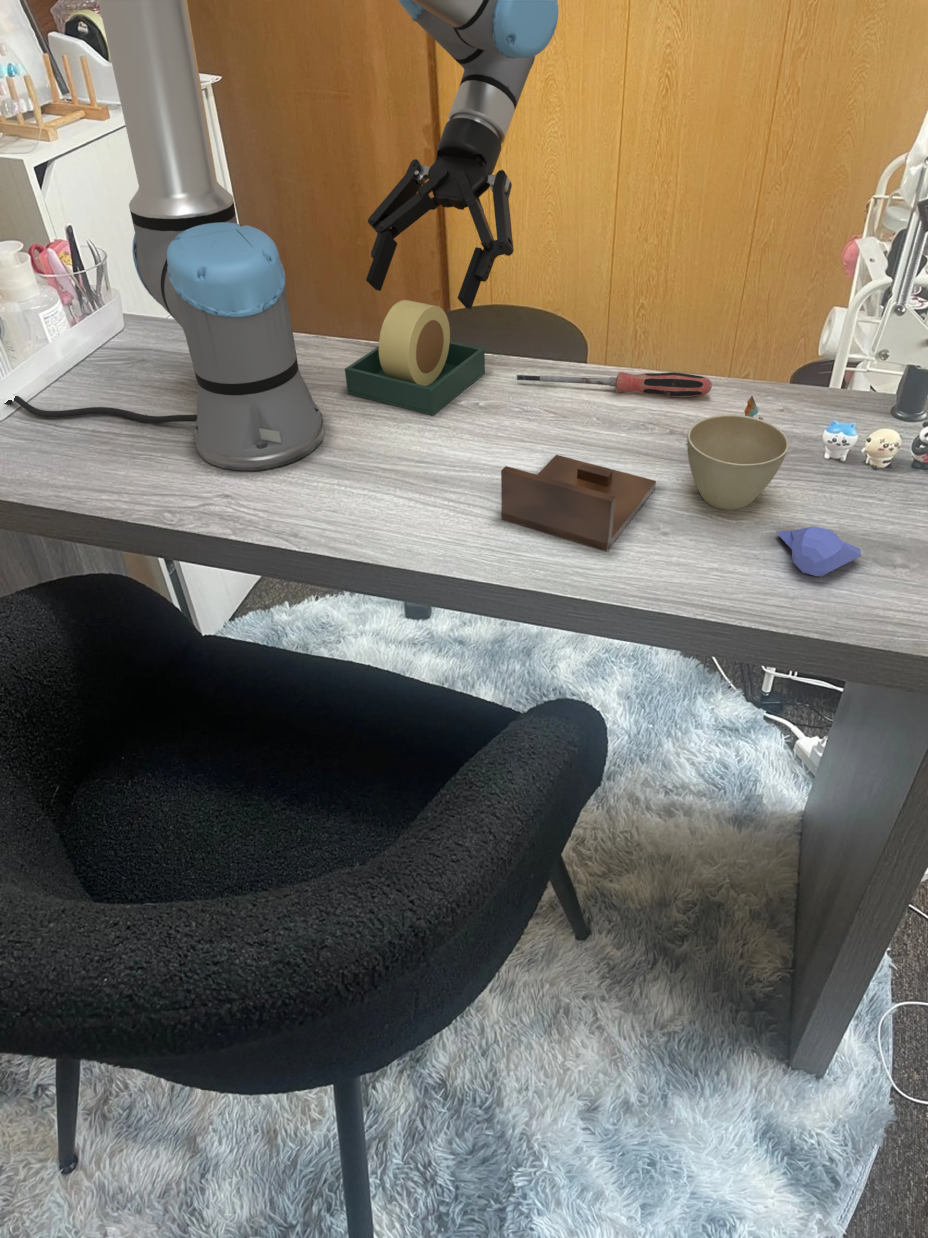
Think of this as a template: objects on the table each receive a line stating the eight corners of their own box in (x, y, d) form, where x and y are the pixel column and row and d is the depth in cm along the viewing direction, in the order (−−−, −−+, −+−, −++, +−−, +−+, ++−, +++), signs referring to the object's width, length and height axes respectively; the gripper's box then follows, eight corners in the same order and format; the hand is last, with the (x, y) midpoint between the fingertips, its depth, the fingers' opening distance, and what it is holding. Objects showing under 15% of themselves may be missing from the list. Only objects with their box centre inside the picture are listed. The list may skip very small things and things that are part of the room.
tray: (347, 393, 116) (344, 368, 113) (403, 354, 124) (401, 330, 122) (433, 415, 110) (431, 389, 108) (485, 373, 119) (484, 348, 117)
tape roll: (382, 391, 115) (374, 316, 108) (423, 360, 121) (418, 288, 114) (412, 399, 113) (405, 323, 106) (452, 367, 119) (448, 293, 113)
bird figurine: (842, 593, 81) (875, 555, 84) (818, 539, 79) (852, 503, 82) (770, 596, 88) (803, 561, 91) (746, 547, 86) (780, 513, 89)
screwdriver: (514, 372, 114) (518, 361, 116) (514, 393, 116) (519, 381, 118) (712, 381, 108) (713, 369, 110) (710, 403, 110) (710, 390, 112)
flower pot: (666, 510, 93) (674, 450, 88) (694, 464, 100) (703, 406, 95) (762, 533, 89) (776, 472, 85) (784, 484, 96) (798, 425, 91)
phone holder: (501, 519, 93) (500, 470, 89) (555, 461, 101) (557, 414, 97) (607, 551, 88) (611, 500, 84) (655, 488, 96) (661, 439, 92)
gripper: (573, 161, 109) (515, 324, 109) (405, 142, 119) (352, 291, 119) (556, 122, 102) (493, 296, 102) (378, 105, 112) (322, 264, 112)
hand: (417, 294), depth 111 cm, fingers open, 13 cm apart
